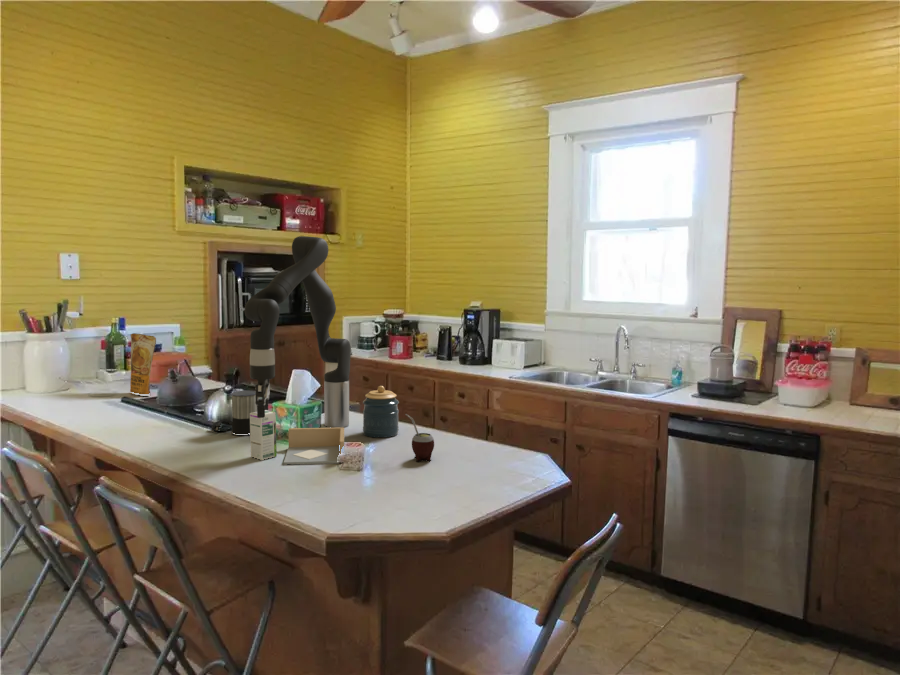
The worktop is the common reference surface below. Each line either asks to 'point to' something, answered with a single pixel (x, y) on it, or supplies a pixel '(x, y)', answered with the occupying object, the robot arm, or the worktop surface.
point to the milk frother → (240, 412)
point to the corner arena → (314, 445)
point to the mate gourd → (422, 444)
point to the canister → (380, 413)
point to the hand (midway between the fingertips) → (262, 414)
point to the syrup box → (263, 435)
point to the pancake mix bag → (141, 362)
